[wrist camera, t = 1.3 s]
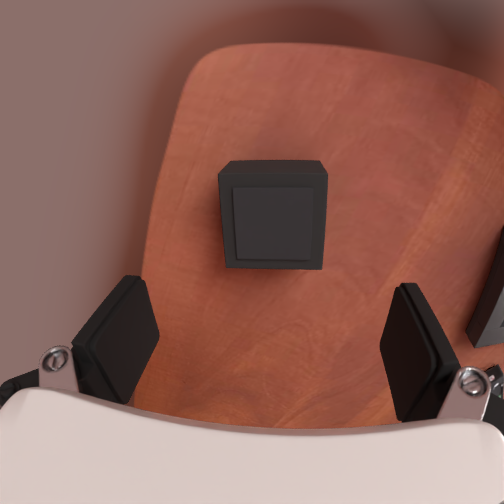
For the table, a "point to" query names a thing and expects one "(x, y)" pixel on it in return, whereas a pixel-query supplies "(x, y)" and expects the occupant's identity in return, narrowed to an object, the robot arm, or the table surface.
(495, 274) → the docking pad
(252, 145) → the table surface
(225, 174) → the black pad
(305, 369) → the table surface
